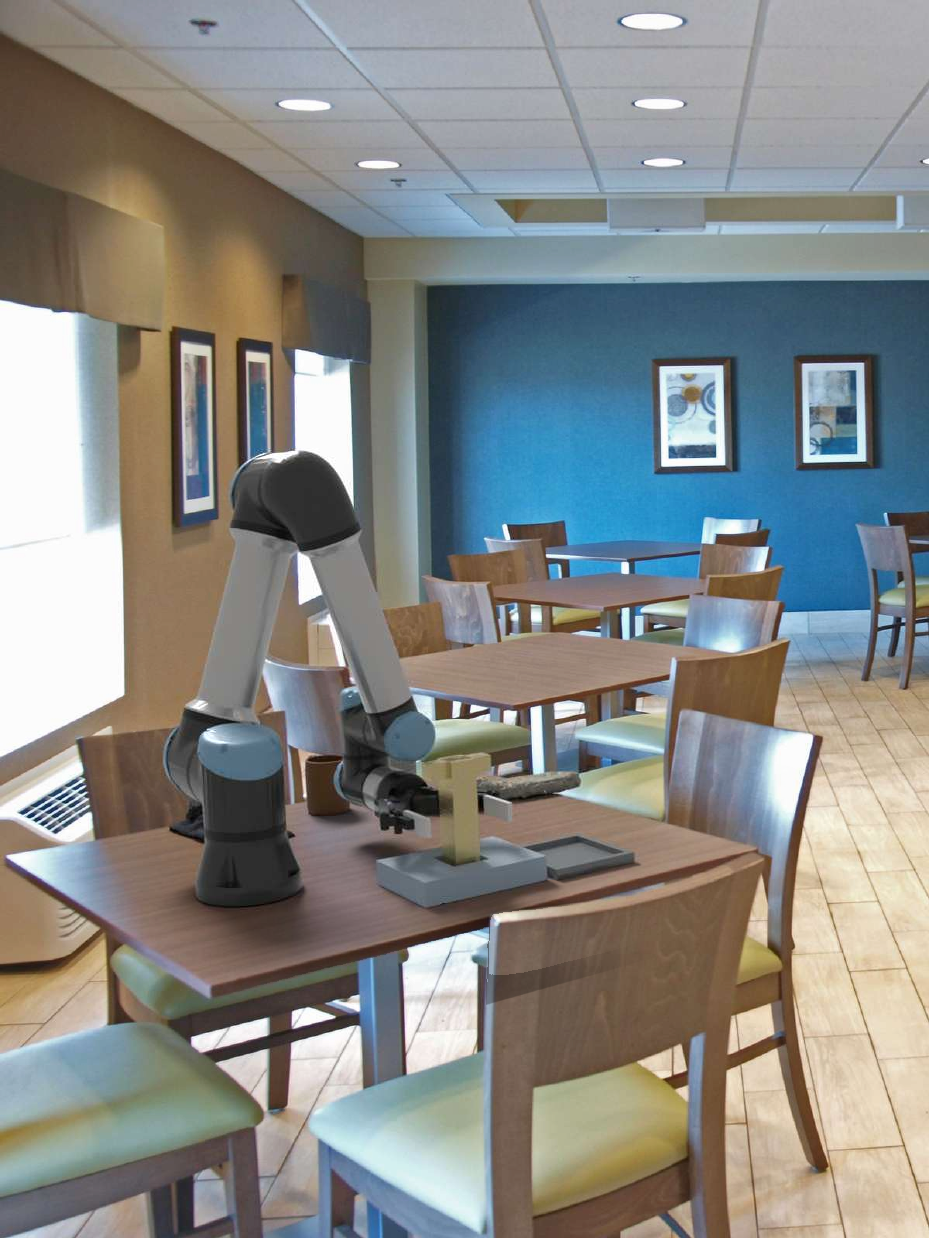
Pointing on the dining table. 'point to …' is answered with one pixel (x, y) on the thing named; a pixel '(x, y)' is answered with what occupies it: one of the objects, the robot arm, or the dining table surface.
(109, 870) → the dining table surface
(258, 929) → the dining table surface
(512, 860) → the cover plate
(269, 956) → the dining table surface
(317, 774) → the mug
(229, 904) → the robot arm
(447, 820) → the t key
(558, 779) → the long grey stone
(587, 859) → the tray
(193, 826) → the dark slate chunk
